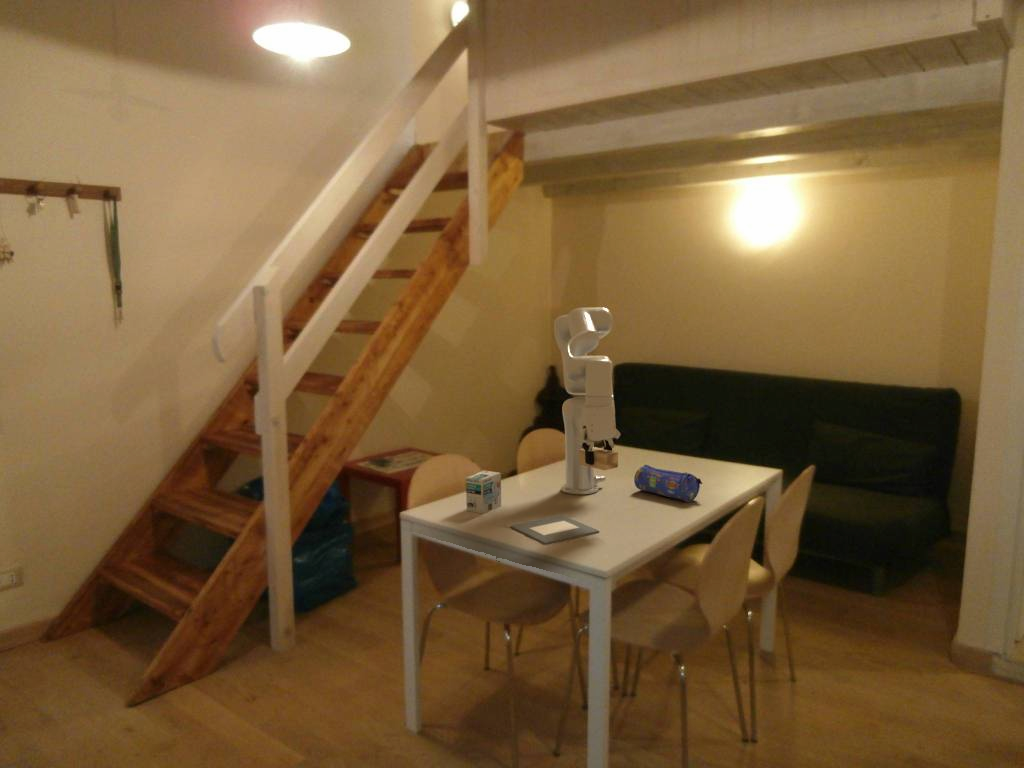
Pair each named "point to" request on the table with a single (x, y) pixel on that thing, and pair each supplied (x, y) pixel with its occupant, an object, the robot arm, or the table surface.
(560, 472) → the table surface
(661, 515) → the table surface
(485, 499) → the light bulb box
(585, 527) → the mat
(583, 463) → the tan rectangular block
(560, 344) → the robot arm
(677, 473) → the pencil case
